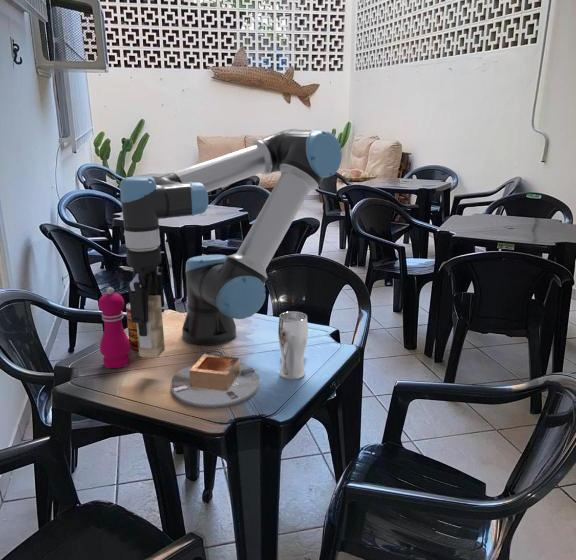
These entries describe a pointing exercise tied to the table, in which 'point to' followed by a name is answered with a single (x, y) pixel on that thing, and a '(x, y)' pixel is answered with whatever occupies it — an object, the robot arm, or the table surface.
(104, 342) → the pepper mill
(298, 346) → the beer glass
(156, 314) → the wedge pin
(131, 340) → the canned food
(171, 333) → the table surface
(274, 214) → the robot arm
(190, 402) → the rosette plate
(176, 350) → the table surface
